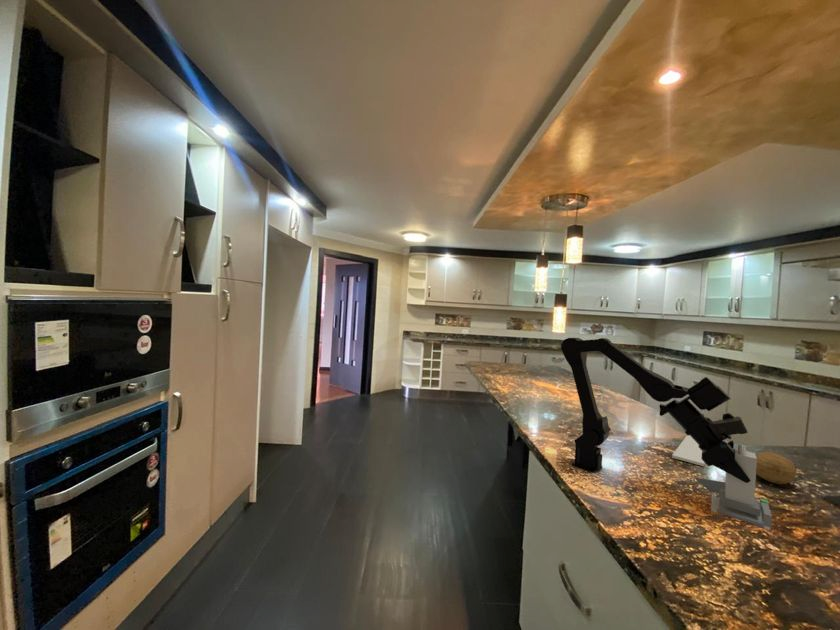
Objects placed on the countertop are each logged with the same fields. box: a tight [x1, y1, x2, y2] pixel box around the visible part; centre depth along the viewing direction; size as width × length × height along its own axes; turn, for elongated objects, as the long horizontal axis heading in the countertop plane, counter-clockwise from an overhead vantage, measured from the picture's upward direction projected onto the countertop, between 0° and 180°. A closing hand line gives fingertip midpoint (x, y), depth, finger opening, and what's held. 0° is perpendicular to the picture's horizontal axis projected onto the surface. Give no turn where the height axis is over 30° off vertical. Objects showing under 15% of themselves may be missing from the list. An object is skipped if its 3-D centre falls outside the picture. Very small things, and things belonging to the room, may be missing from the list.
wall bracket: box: [671, 434, 707, 467], centre depth 124 cm, size 10×7×28 cm
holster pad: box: [693, 476, 725, 494], centre depth 98 cm, size 9×9×1 cm
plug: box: [718, 444, 760, 516], centre depth 85 cm, size 7×7×14 cm
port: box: [710, 493, 773, 531], centre depth 85 cm, size 10×11×3 cm
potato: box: [755, 451, 797, 485], centre depth 105 cm, size 10×14×8 cm
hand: (747, 478), depth 84 cm, fingers closed on plug, 5 cm apart
